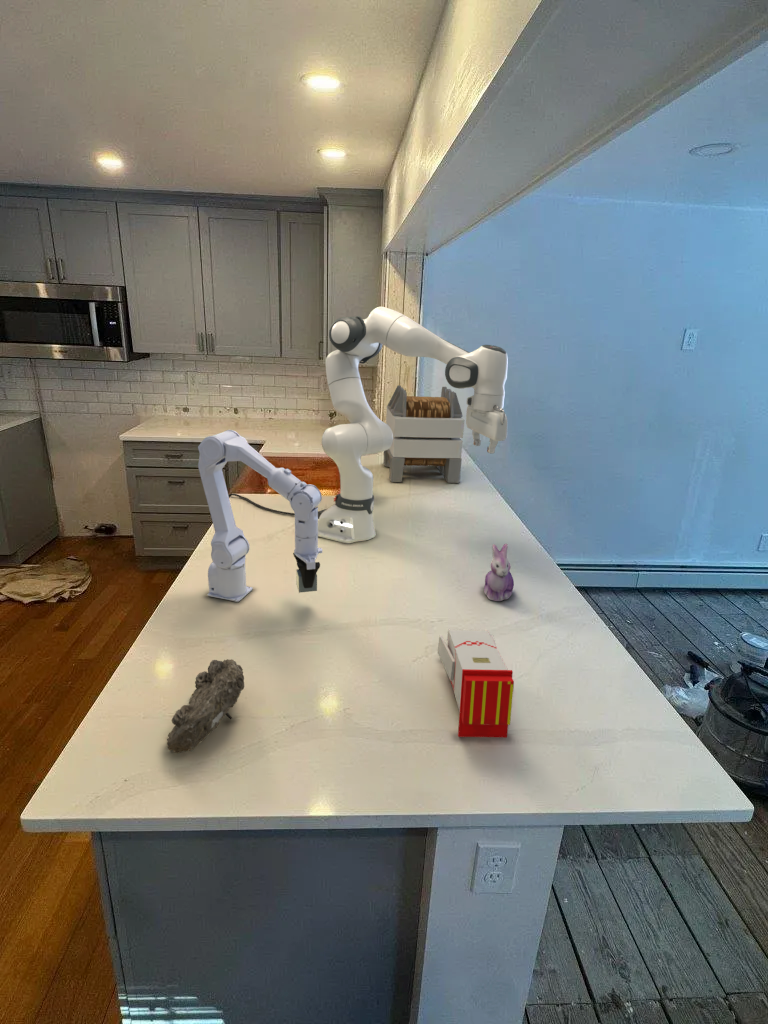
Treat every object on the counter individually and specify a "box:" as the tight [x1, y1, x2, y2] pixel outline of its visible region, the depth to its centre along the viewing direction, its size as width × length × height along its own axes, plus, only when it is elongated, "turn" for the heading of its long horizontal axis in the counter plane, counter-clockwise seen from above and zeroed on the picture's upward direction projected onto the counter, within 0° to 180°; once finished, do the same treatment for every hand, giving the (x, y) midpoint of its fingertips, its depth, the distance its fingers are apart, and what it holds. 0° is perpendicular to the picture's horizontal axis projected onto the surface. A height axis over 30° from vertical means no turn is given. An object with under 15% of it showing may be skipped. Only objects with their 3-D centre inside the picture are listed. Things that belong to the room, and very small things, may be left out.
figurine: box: [483, 543, 515, 602], centre depth 157 cm, size 9×10×15 cm
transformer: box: [383, 384, 466, 484], centre depth 268 cm, size 34×33×41 cm
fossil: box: [166, 658, 245, 754], centre depth 106 cm, size 22×10×15 cm
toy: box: [437, 628, 515, 738], centre depth 117 cm, size 12×13×30 cm
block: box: [295, 568, 318, 594], centre depth 146 cm, size 4×5×4 cm
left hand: (306, 583), depth 146 cm, fingers closed on block, 4 cm apart
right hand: (483, 449), depth 171 cm, fingers open, 8 cm apart
